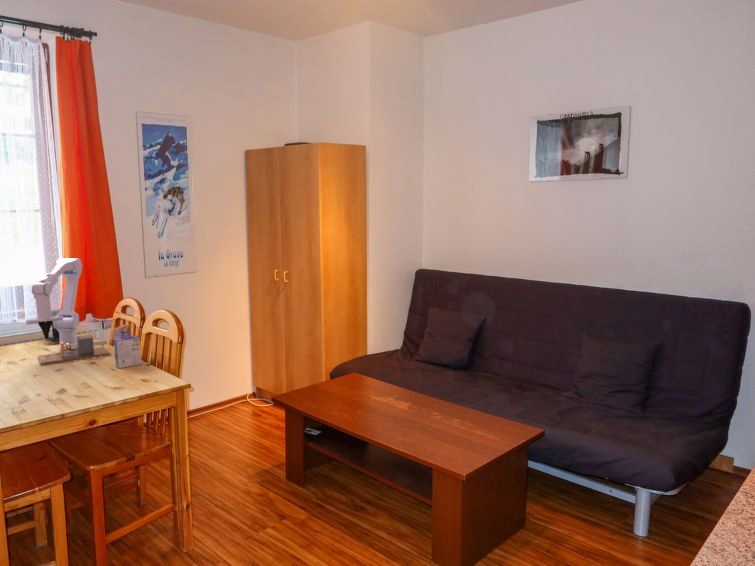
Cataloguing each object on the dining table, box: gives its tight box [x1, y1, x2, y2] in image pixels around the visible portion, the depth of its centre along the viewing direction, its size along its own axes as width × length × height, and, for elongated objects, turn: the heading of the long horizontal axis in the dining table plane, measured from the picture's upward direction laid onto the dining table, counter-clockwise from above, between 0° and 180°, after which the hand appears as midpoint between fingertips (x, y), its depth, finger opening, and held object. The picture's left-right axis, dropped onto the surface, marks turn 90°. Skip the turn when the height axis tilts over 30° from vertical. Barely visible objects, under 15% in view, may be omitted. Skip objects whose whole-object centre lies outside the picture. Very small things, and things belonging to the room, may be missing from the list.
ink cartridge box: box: [113, 332, 142, 369], centre depth 260 cm, size 10×6×14 cm, turn 129°
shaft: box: [59, 339, 107, 355], centre depth 277 cm, size 19×5×5 cm, turn 123°
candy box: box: [111, 324, 131, 363], centre depth 268 cm, size 9×4×15 cm, turn 177°
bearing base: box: [37, 334, 111, 366], centre depth 275 cm, size 28×14×9 cm, turn 123°
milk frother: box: [40, 309, 62, 344], centre depth 306 cm, size 14×16×15 cm
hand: (46, 338), depth 272 cm, fingers closed
